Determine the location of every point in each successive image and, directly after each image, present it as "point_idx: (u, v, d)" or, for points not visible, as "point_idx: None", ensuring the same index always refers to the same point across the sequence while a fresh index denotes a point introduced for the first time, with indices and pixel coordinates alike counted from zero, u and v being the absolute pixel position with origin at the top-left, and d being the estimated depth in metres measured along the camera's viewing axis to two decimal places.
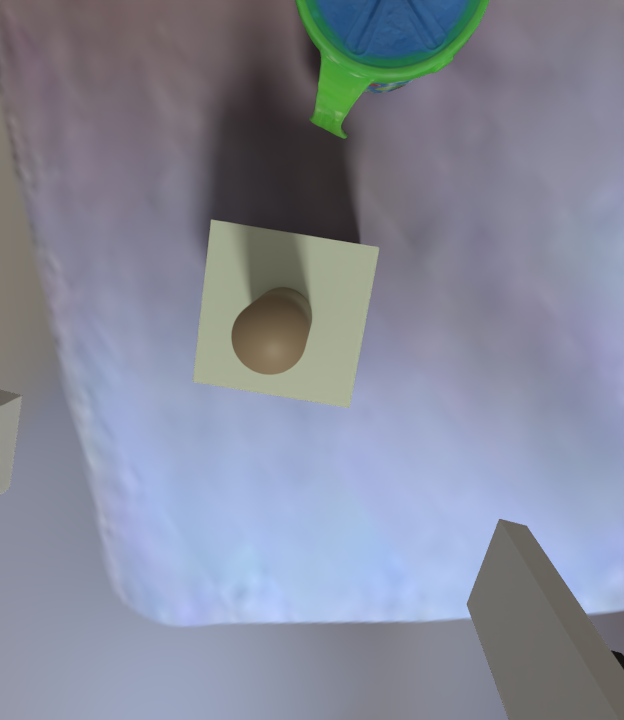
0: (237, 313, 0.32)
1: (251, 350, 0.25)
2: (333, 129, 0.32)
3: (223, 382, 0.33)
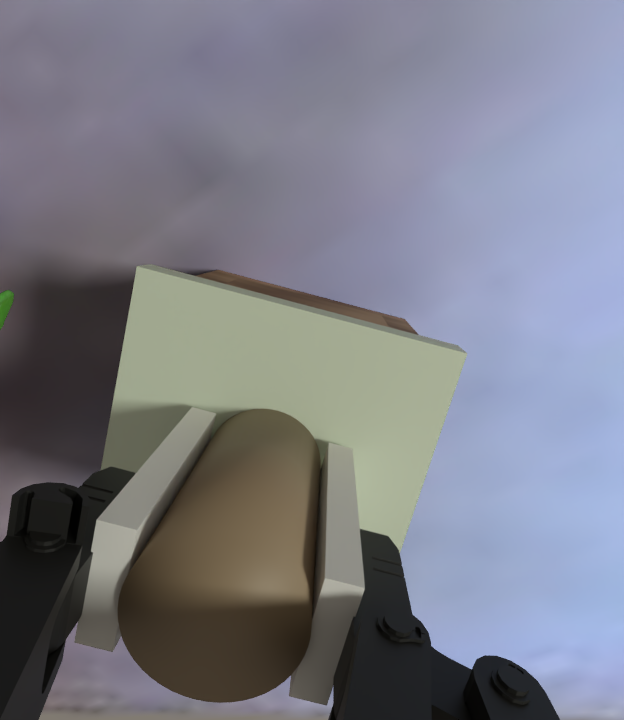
0: None
1: (243, 663, 0.10)
2: None
3: None
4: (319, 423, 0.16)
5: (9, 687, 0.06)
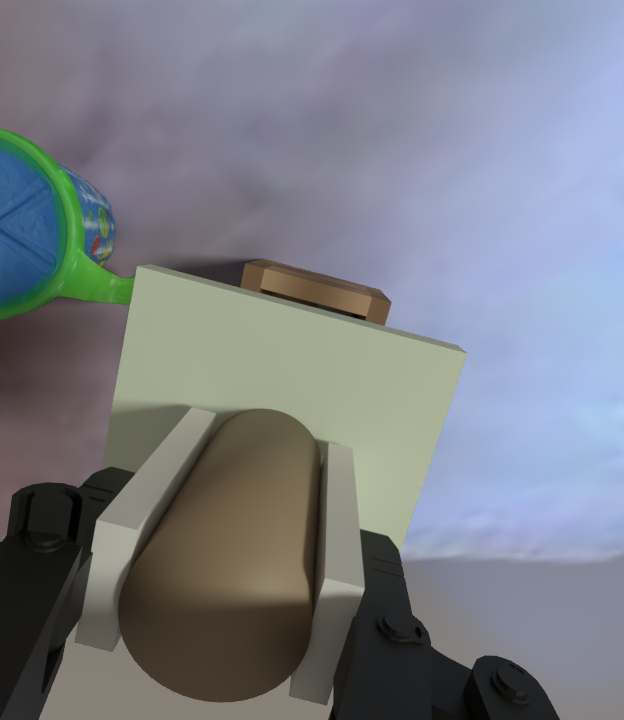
0: None
1: (243, 663, 0.10)
2: (132, 285, 0.33)
3: None
4: (319, 423, 0.16)
5: (9, 687, 0.06)
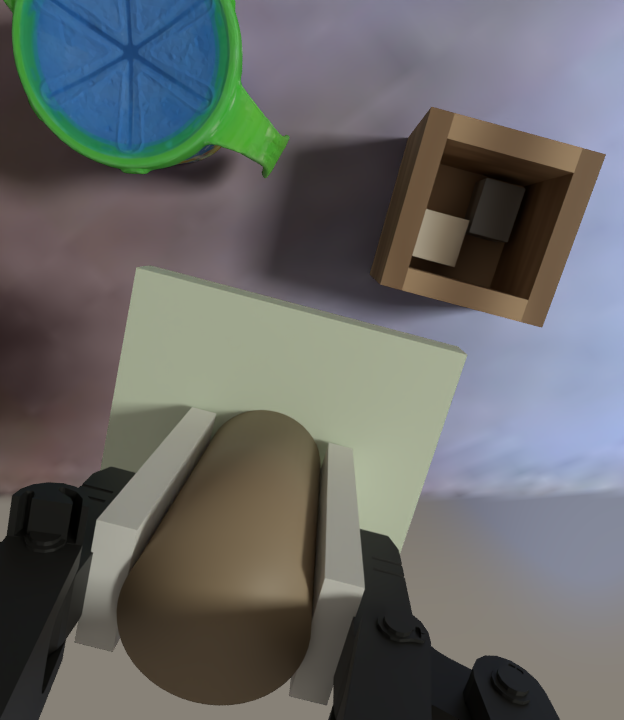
0: None
1: (243, 666, 0.10)
2: (281, 145, 0.28)
3: None
4: (319, 424, 0.16)
5: (9, 687, 0.06)
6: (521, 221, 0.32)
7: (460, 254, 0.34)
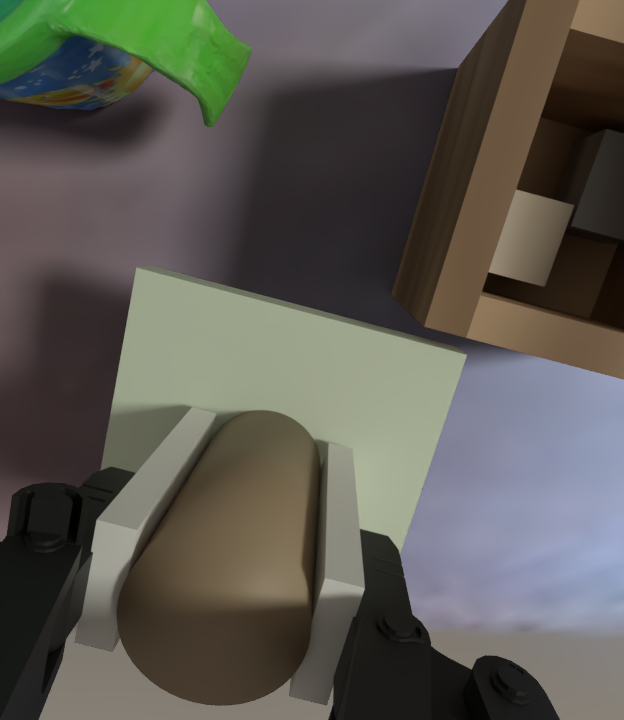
0: None
1: (242, 666, 0.10)
2: (231, 56, 0.14)
3: None
4: (319, 424, 0.16)
5: (9, 687, 0.06)
6: None
7: None
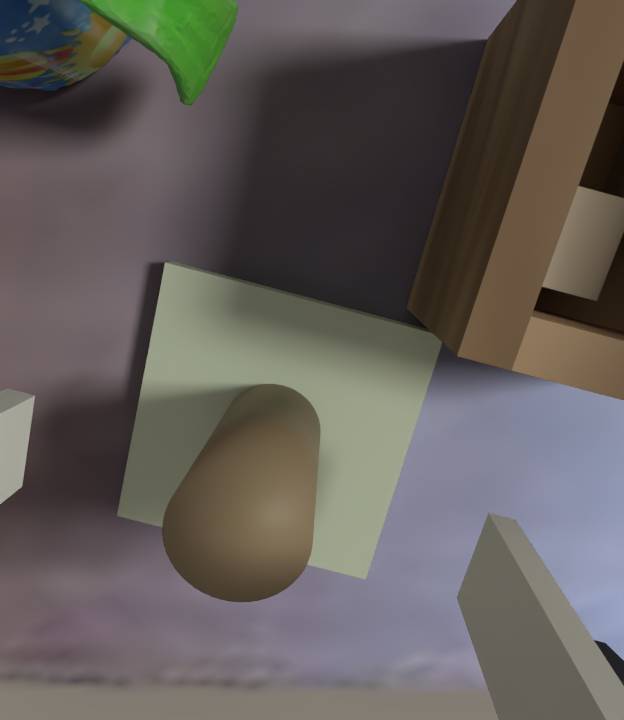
0: None
1: (260, 569, 0.13)
2: (210, 9, 0.11)
3: (372, 535, 0.20)
4: (319, 396, 0.19)
5: None
6: None
7: None
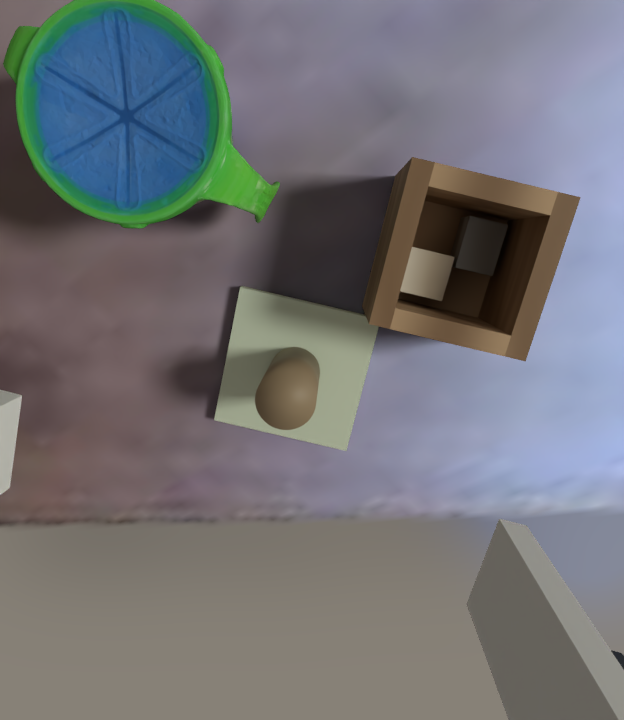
0: None
1: (294, 415, 0.31)
2: (271, 194, 0.29)
3: (348, 426, 0.38)
4: (318, 352, 0.37)
5: None
6: (505, 255, 0.33)
7: (448, 286, 0.35)
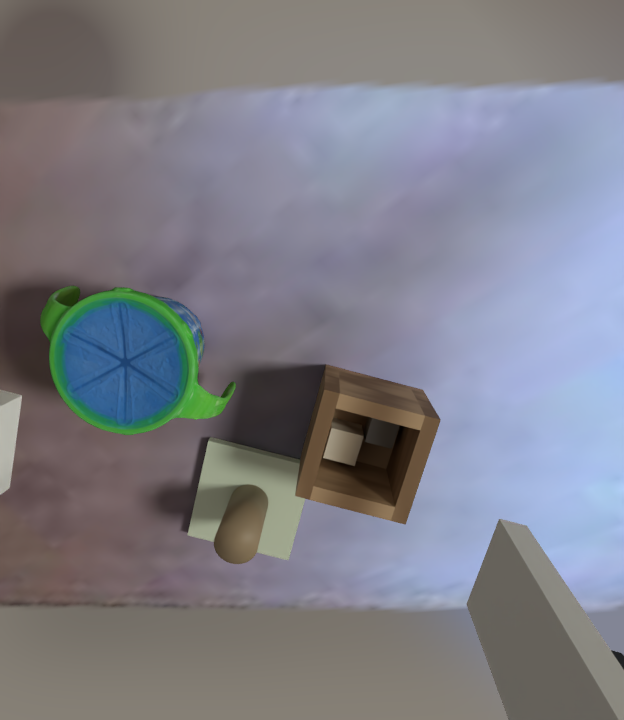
0: None
1: (242, 554, 0.42)
2: (228, 400, 0.41)
3: (290, 542, 0.50)
4: (267, 489, 0.49)
5: None
6: (402, 432, 0.45)
7: (364, 446, 0.47)
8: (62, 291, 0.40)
